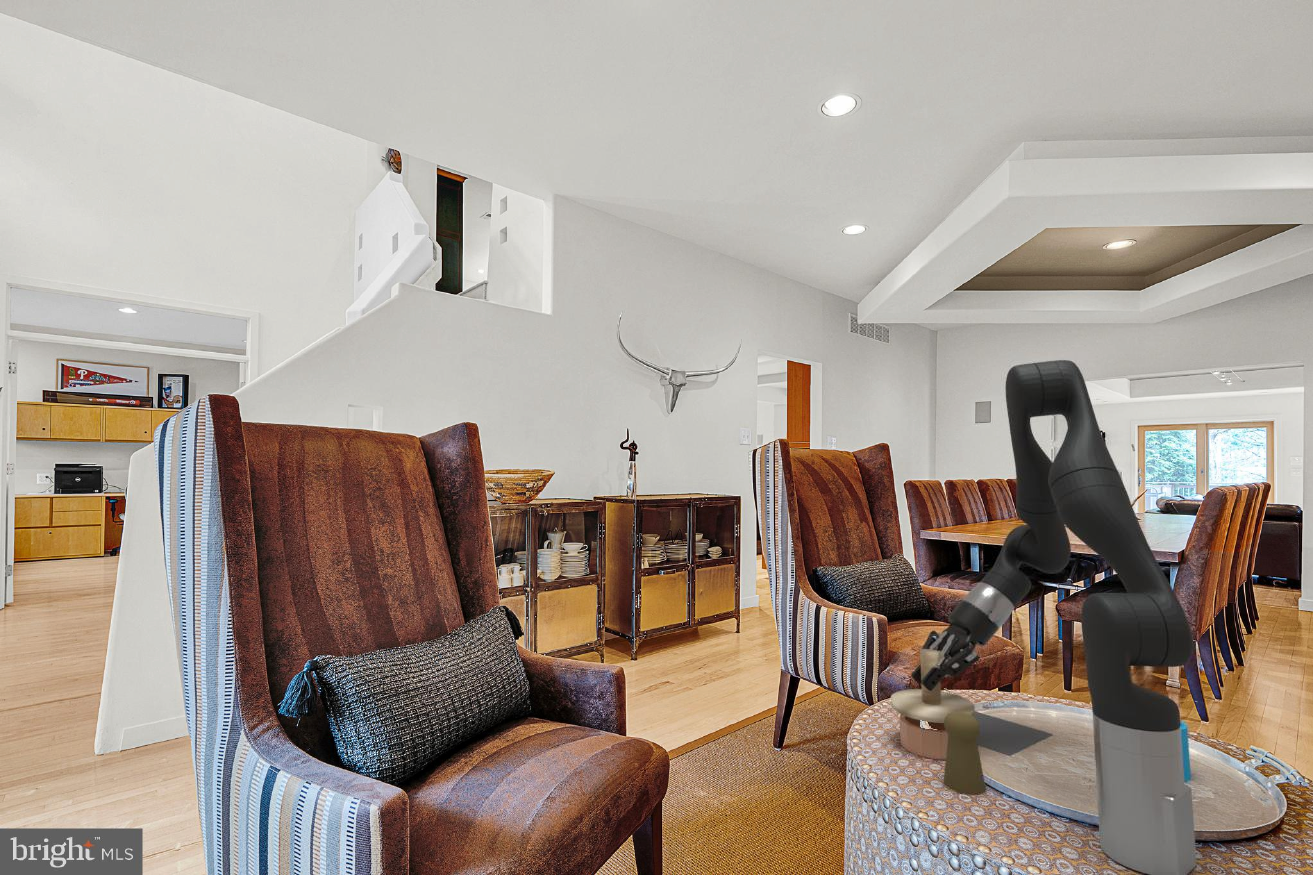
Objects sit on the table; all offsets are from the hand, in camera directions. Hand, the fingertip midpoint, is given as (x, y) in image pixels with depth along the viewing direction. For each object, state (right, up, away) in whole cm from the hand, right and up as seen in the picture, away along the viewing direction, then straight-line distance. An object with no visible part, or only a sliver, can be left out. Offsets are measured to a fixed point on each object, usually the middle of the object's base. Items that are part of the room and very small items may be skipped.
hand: (920, 683), depth 117 cm
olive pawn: (+1, -11, -15) cm, 18 cm away
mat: (+16, -12, +6) cm, 21 cm away
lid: (+2, -5, 0) cm, 5 cm away
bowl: (+2, -12, -1) cm, 12 cm away
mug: (+34, -11, -10) cm, 37 cm away
